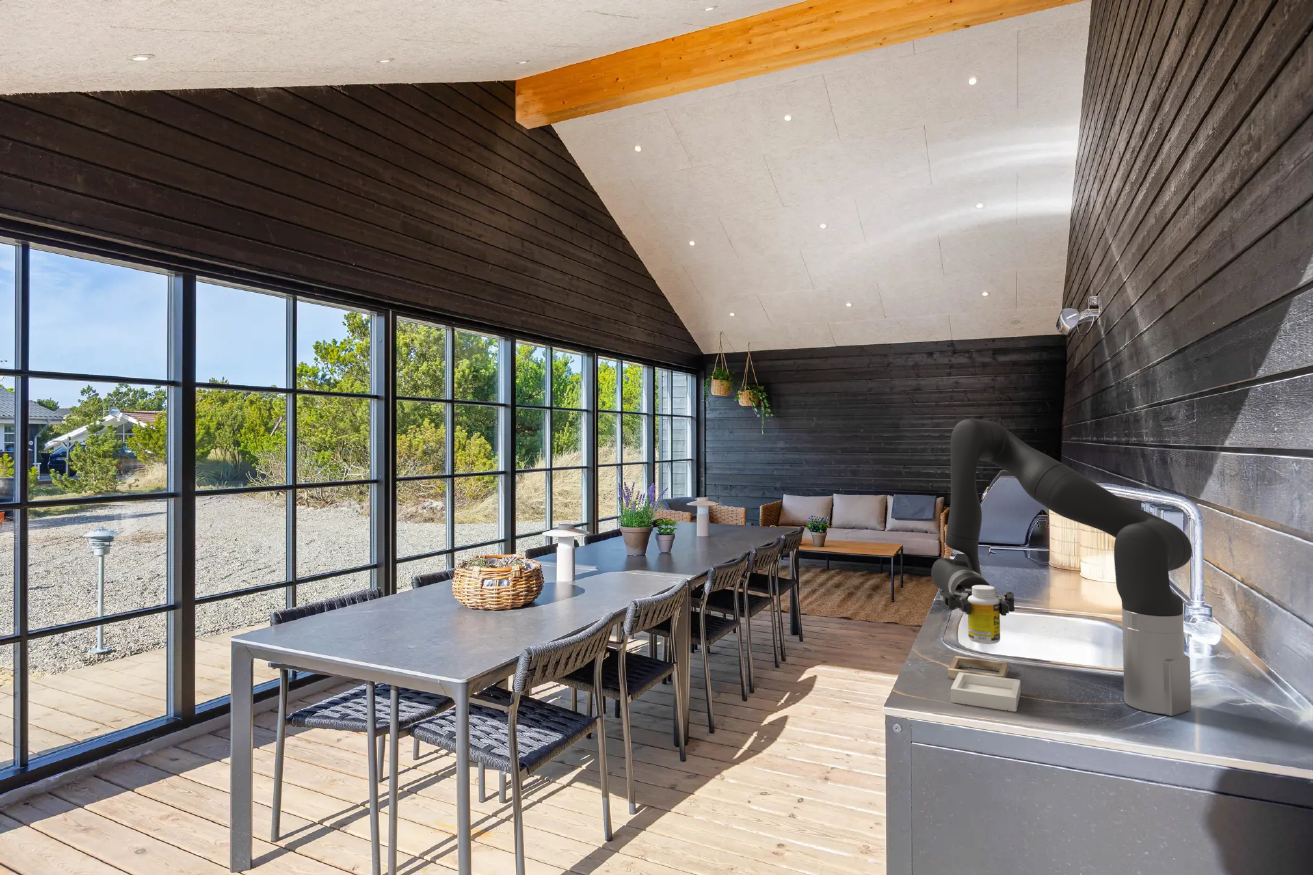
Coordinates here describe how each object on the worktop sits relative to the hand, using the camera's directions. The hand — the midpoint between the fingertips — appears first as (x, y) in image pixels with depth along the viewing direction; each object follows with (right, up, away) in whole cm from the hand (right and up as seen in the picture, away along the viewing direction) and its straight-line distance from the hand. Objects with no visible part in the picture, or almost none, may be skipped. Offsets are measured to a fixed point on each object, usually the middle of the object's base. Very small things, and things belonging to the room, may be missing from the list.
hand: (986, 609), depth 138 cm
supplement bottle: (+1, -7, +2) cm, 7 cm away
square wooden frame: (+5, -17, +16) cm, 24 cm away
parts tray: (+1, -17, +2) cm, 17 cm away
